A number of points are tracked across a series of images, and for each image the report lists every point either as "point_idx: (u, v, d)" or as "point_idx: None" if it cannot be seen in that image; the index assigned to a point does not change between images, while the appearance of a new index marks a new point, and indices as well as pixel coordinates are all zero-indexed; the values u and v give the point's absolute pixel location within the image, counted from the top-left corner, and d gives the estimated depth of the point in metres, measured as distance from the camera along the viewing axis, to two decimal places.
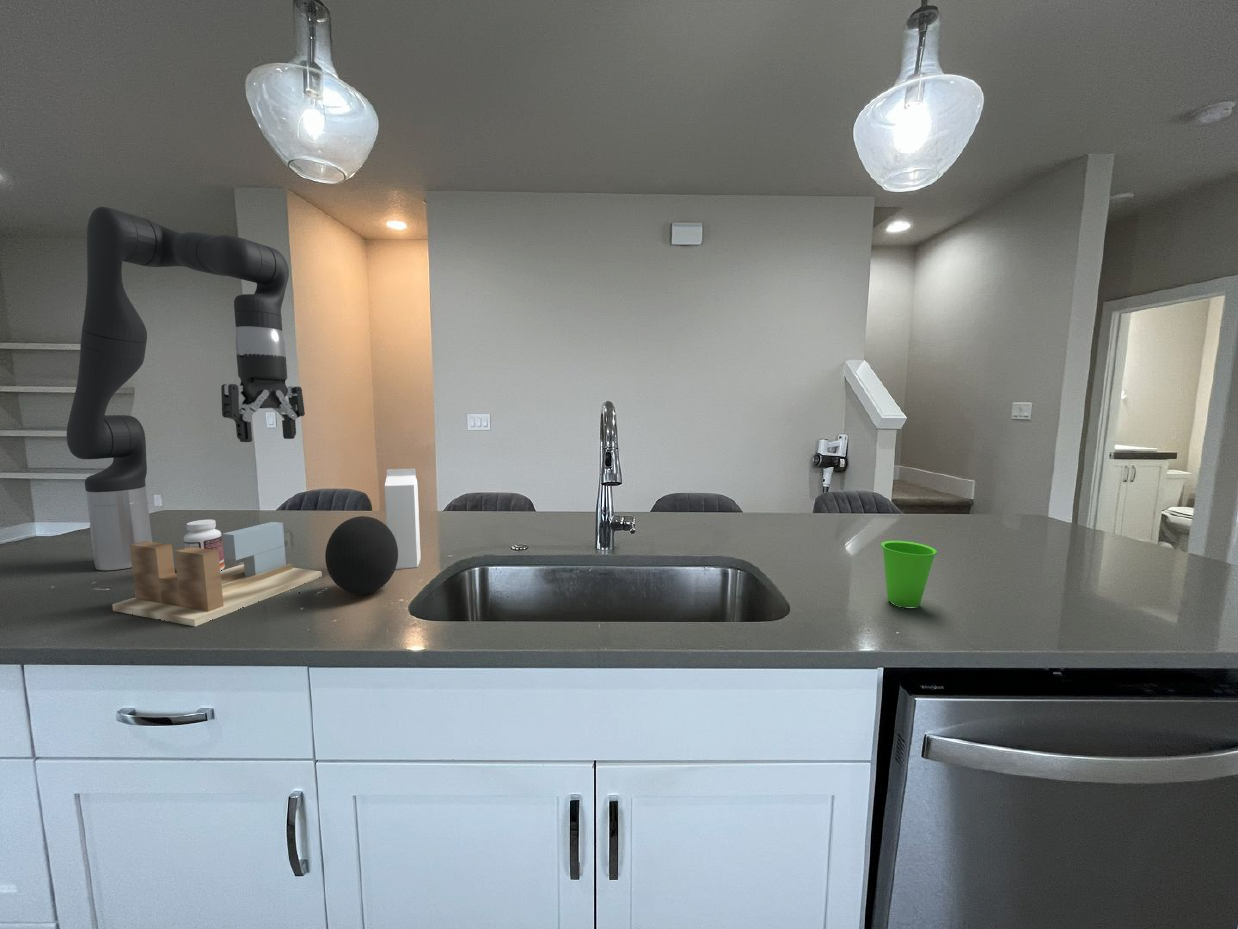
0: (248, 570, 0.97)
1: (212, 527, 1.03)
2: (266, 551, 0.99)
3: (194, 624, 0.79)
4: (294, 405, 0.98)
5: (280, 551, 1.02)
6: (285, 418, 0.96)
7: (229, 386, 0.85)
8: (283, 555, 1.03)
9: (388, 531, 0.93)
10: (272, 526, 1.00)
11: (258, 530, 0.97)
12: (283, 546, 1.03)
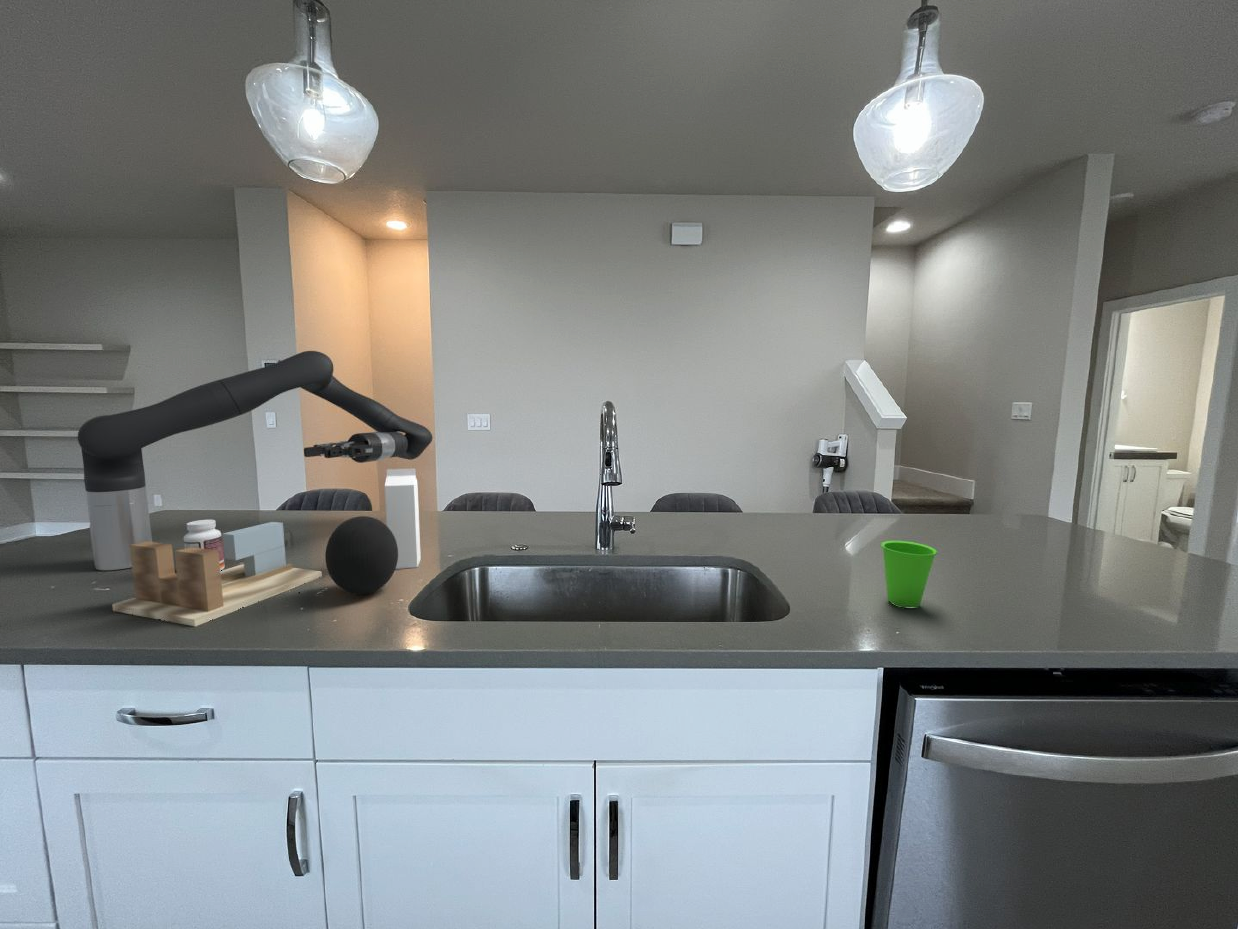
0: (248, 570, 0.97)
1: (212, 527, 1.03)
2: (266, 551, 0.99)
3: (194, 624, 0.79)
4: None
5: (280, 551, 1.02)
6: (321, 449, 1.15)
7: (372, 453, 1.18)
8: (283, 555, 1.03)
9: (388, 531, 0.93)
10: (272, 526, 1.00)
11: (258, 530, 0.97)
12: (283, 546, 1.03)
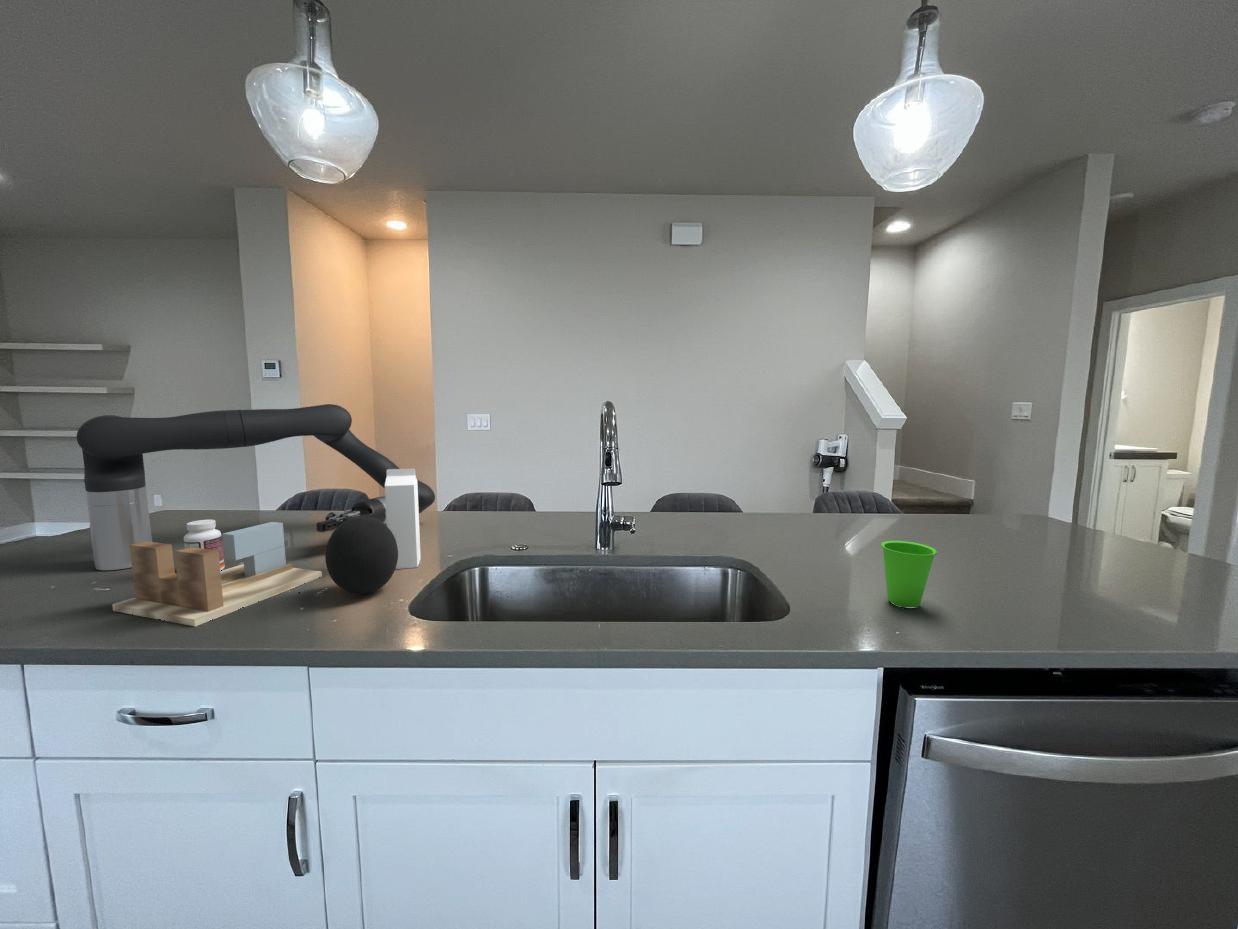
0: (248, 570, 0.97)
1: (212, 527, 1.03)
2: (266, 551, 0.99)
3: (194, 624, 0.79)
4: None
5: (280, 551, 1.02)
6: None
7: None
8: (283, 555, 1.03)
9: (388, 531, 0.93)
10: (272, 526, 1.00)
11: (258, 530, 0.97)
12: (283, 546, 1.03)
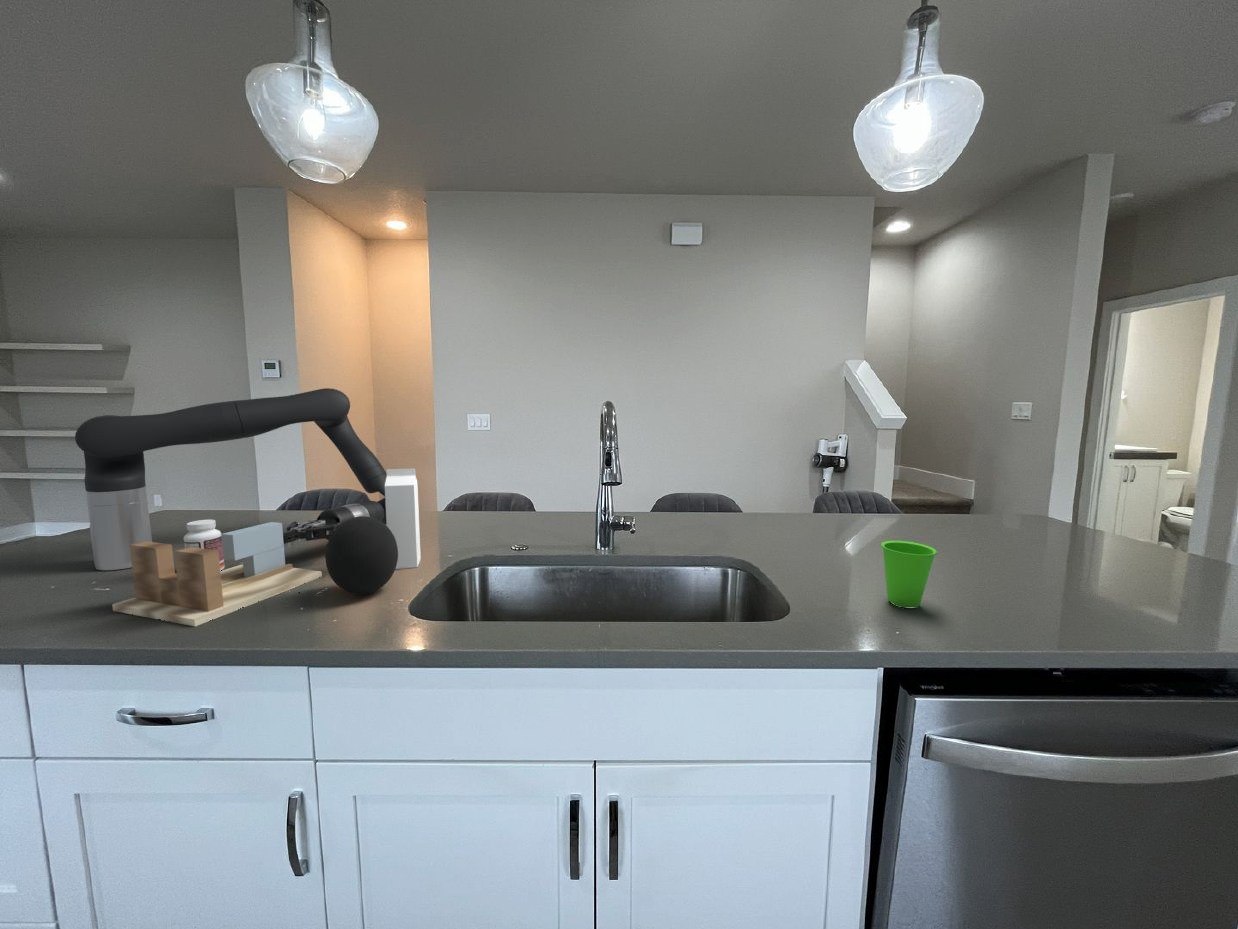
0: (248, 570, 0.97)
1: (212, 527, 1.03)
2: (265, 551, 0.99)
3: (194, 624, 0.79)
4: None
5: (279, 552, 1.02)
6: None
7: None
8: (282, 555, 1.02)
9: (388, 531, 0.93)
10: (271, 526, 1.00)
11: (257, 530, 0.97)
12: (283, 546, 1.03)
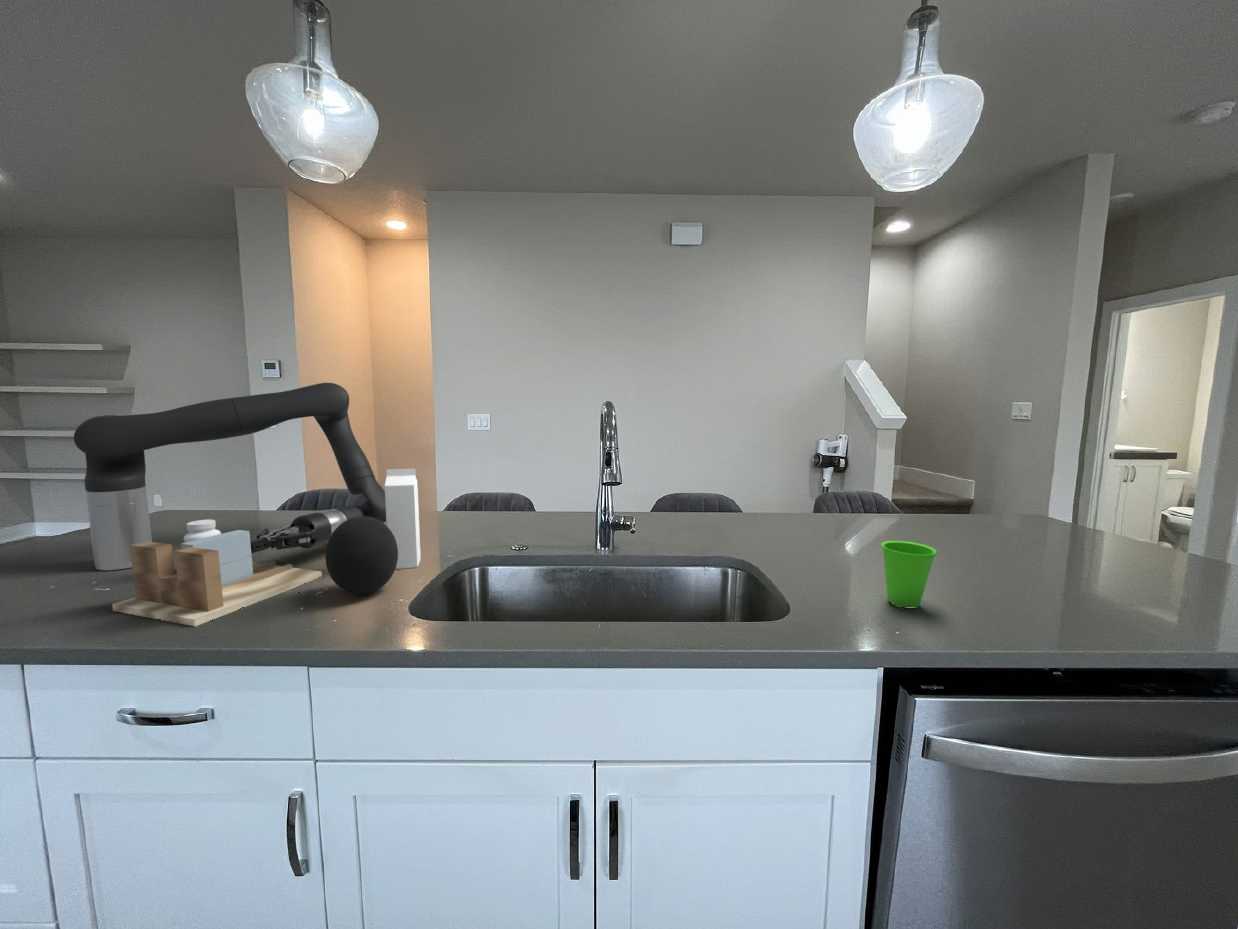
0: None
1: (212, 527, 1.03)
2: (230, 562, 0.92)
3: (194, 624, 0.79)
4: None
5: (246, 562, 0.95)
6: None
7: (307, 543, 1.03)
8: (250, 565, 0.96)
9: (388, 531, 0.93)
10: (237, 535, 0.93)
11: (221, 539, 0.91)
12: (250, 555, 0.96)
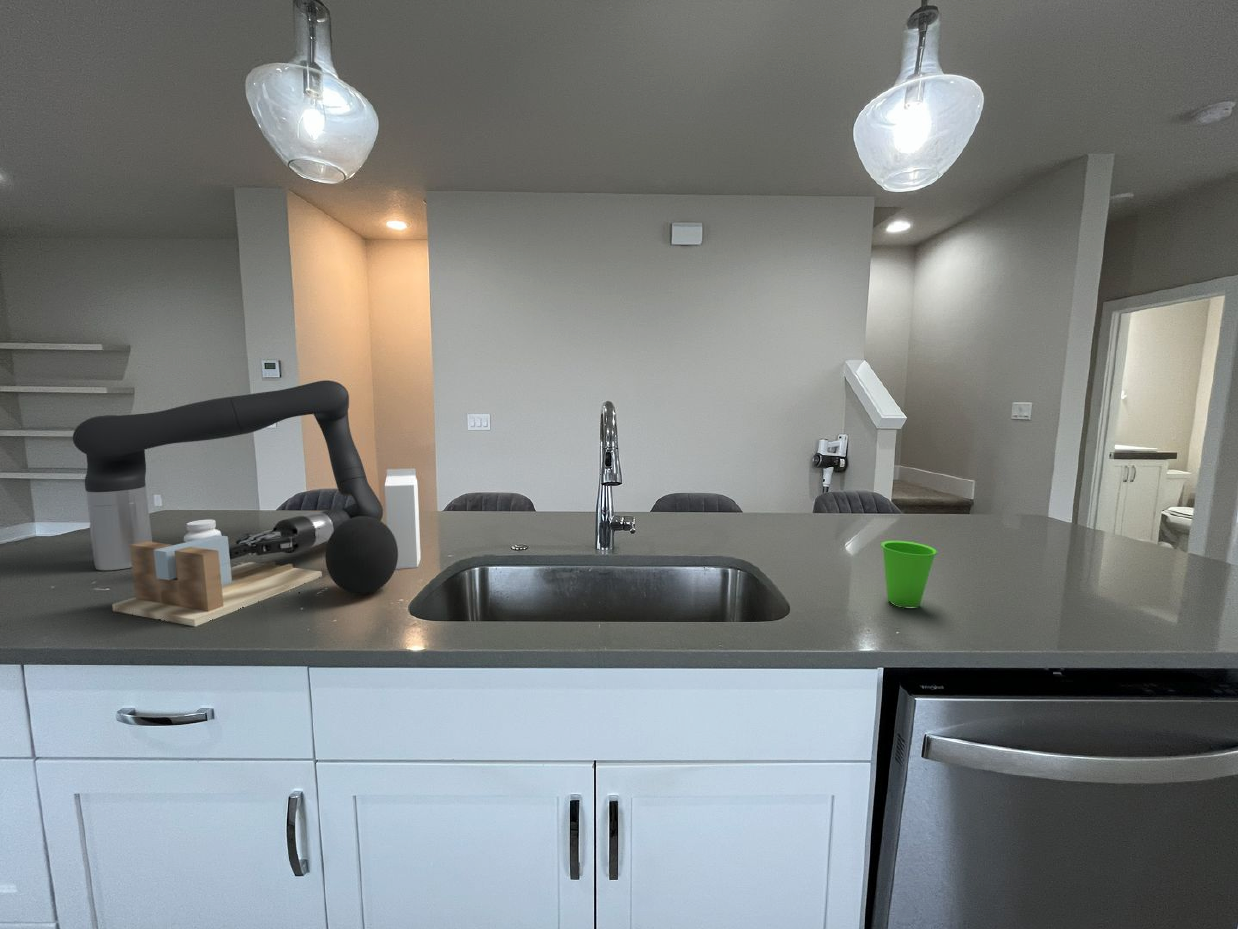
0: None
1: (212, 527, 1.03)
2: None
3: (194, 624, 0.79)
4: None
5: (224, 568, 0.91)
6: None
7: (289, 548, 0.99)
8: (228, 572, 0.92)
9: (388, 531, 0.93)
10: (214, 540, 0.89)
11: (197, 545, 0.87)
12: (229, 562, 0.92)
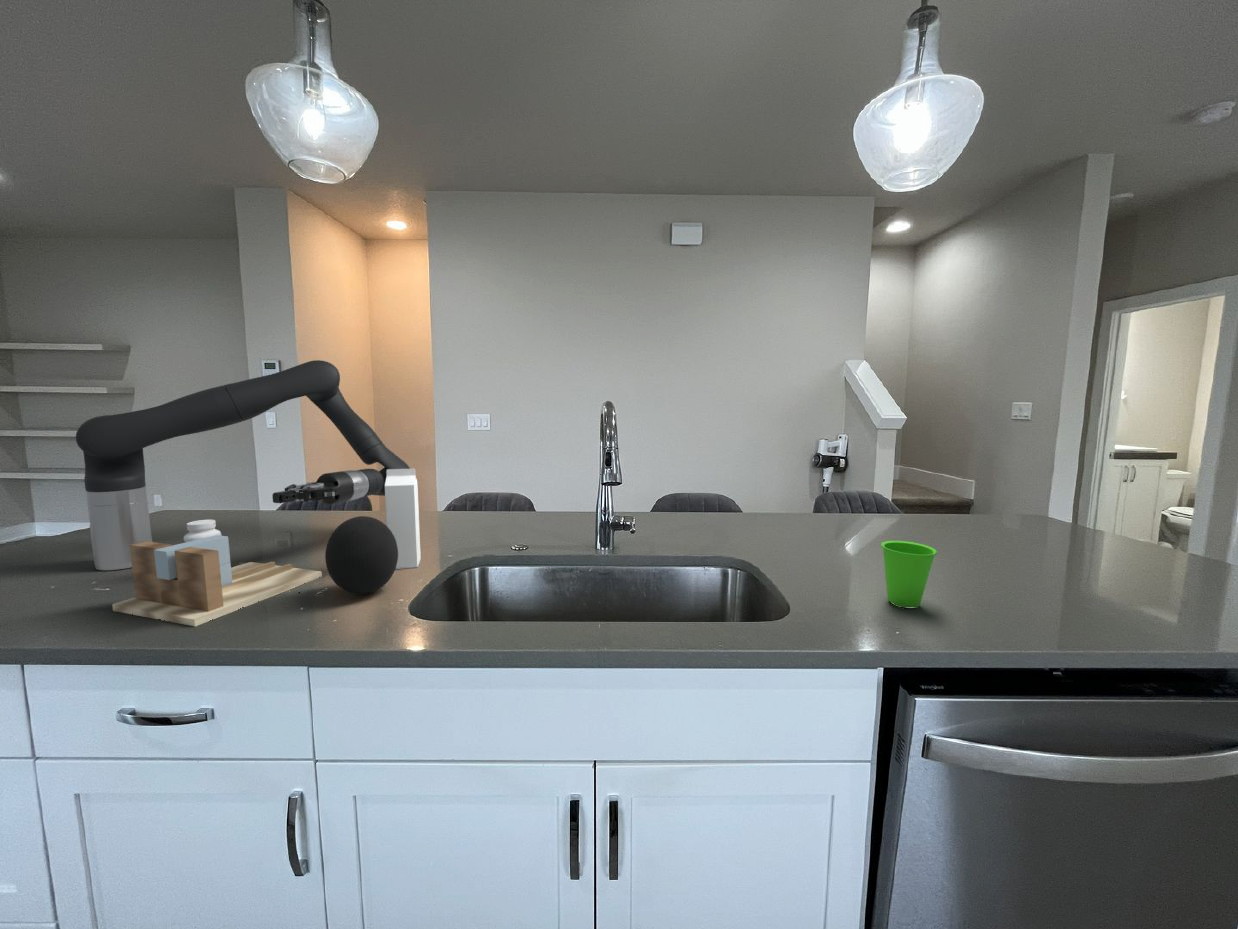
0: None
1: (212, 527, 1.03)
2: None
3: (194, 624, 0.79)
4: None
5: (225, 568, 0.91)
6: None
7: (332, 497, 1.08)
8: (229, 572, 0.92)
9: (388, 531, 0.93)
10: (215, 540, 0.90)
11: (197, 545, 0.87)
12: (229, 562, 0.92)
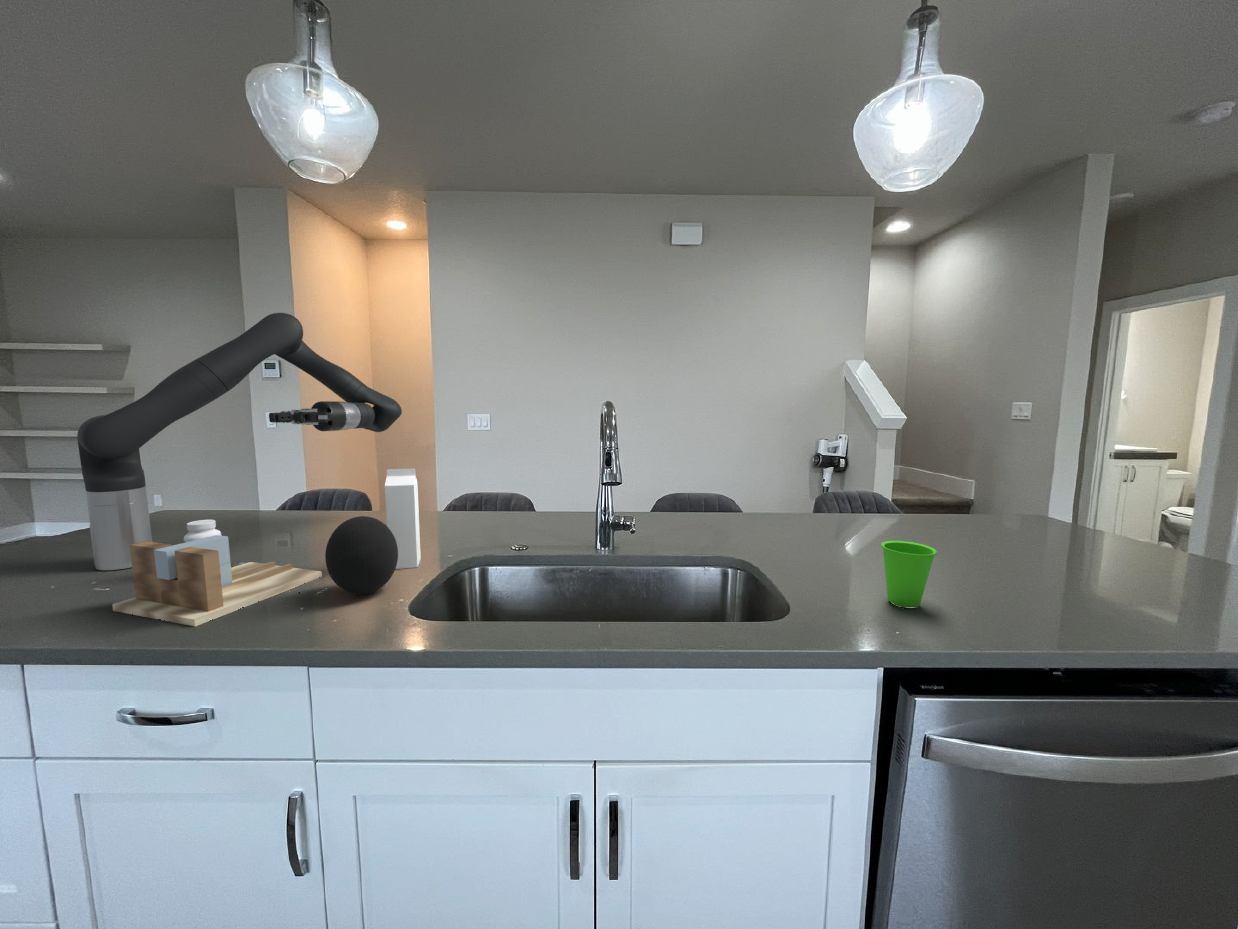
0: None
1: (212, 527, 1.03)
2: None
3: (194, 624, 0.79)
4: None
5: (225, 568, 0.91)
6: None
7: (325, 420, 1.15)
8: (229, 572, 0.92)
9: (388, 531, 0.93)
10: (215, 540, 0.90)
11: (197, 545, 0.87)
12: (229, 562, 0.92)
